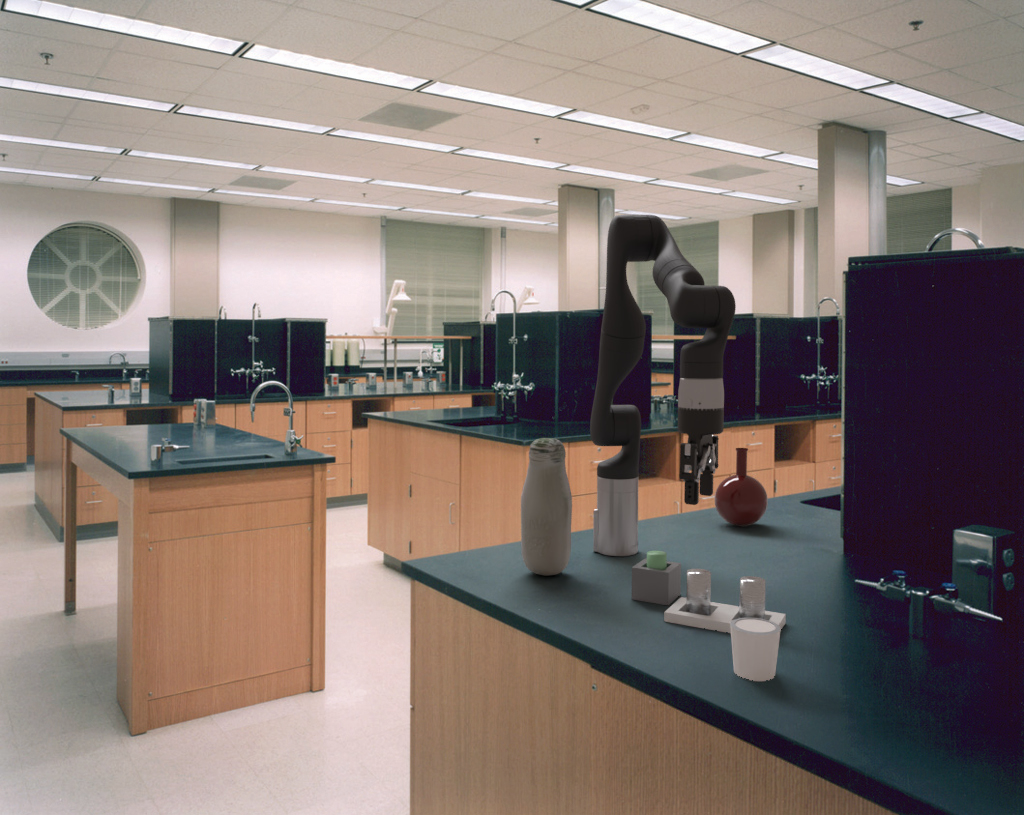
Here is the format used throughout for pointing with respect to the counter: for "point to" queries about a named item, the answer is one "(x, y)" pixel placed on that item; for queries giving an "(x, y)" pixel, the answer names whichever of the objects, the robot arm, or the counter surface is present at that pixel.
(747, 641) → the white cup
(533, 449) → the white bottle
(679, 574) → the grey square holder
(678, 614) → the grey flat frame
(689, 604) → the cylinder
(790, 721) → the counter surface
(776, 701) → the counter surface
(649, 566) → the button
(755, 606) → the seated billet
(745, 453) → the round-bottom flask
